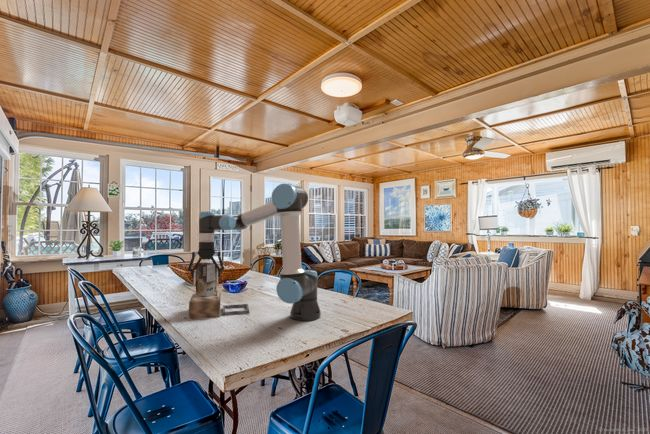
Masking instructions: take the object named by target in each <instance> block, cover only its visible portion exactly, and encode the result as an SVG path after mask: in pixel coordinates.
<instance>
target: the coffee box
mask: <svg viewBox="0 0 650 434" xmlns="http://www.w3.org/2000/svg"><path fill="white" fill-rule="evenodd" d="M217 264H218V263H217V262H216V263H213V262H200V263H199V265H198V266H197V268H196V269H195V272H196V285H195V292H196V295H200V296H206V297H207V296H212V295H216V291H217V287H218V286H217V285H218V284H216V282H217V271H218V270H217Z"/></svg>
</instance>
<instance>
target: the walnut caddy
mask: <svg viewBox="0 0 650 434" xmlns="http://www.w3.org/2000/svg"><path fill="white" fill-rule="evenodd" d="M239 307H240V308H246V309H245V310H230V311H226V309H236V308H237V309H239ZM225 308H226V309H225ZM235 314H236V315H245V314H246V315H247V314H250V307H249V304H248V303H239V304H226V305H223V306H222V316H234V315H235ZM220 315H221V292H220V290H216V295H212V296H207V297H206V296H200V295H196V291H193V293H192V295H191V297H190V300H189V302H188V320H195V319H196V320H197V319H207V318H209V319H210V318H211V317H212V318H219V317H220ZM212 318H211V319H212Z"/></svg>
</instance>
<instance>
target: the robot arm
mask: <svg viewBox="0 0 650 434" xmlns="http://www.w3.org/2000/svg"><path fill="white" fill-rule="evenodd" d="M308 201H309V195H308V192H307V191H306V189H304V187H301V186H297V185H295V184H294V185H293V184H292V183H281V184H278V185H277V186H276V187H275V188H274V189H273V190H272V192H271V202H268V203H266V204H262V205H260V206H258V207H256V208H253V209H250V210H248V211H245V212H243V213H240V214H238V215H231V214H220V215H215V212H214V211H200V212H199V214H198V215H199V216H198V241H199V242H198V251H192V253H191V259H190V261H189V262H190V263H189V265H188V267H187V268H188V269H187V271H188V272H190V273H191V274H190V275H191V279H193V286H196V268H197V266H198V265H199V263H201V262H202V260H211V263H217V261H216V259H215V258H214V256H215V255H216V256H217V258H218V262H219V265H220V266H219V265H218V263H217V282H216V284H217V285H218V284H219V278H221V275H222V274H221V273H222V271H224V270H225V266H224V262H223V260H222V257H221V250H220V251H219V250H218V251H216V250H215V231H233V230H234V231H235V230H236V231H237V230H238V231H243V230H246V229H247V228H248V227H250V226H252V225H255V224H258V223H260V222H261V223H262V222H263V221H266V220H268V219H271V218H273V217H277V216H278V217H279V218H280V221H279V222H280V237H281V238H280V239H281V254H282V255H281V256H282V259H281V260H282V270H281V271H280V272H279V281H278V283H277V284H276V295H277V296H278V298H279V299H280V300H281V301H283V303H286V304H292V306H291V308H290V312H289V313H290V314H289V315H290V316H289V317H290V318H291V319H292V320H295V321H303V322H304V321H305V322H306V321H315V320H317V319H320V318H321V316H322V315H321V308H320V305H319V303H318V272H317V271H316V270H312V269H310V270H309V269H303V268H302V267H303V265H302V251H301V234H300V233H301V232H300V231H301V230H300V216H301V214H302V212H303V210H302V209H304V208H305V207H306V205H307V204H308ZM197 255H198V256H199V259H198V260H197V262H196V263H195V264H194V266H193V263H194V261H195V258H196V256H197ZM192 266H193V268H192Z"/></svg>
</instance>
